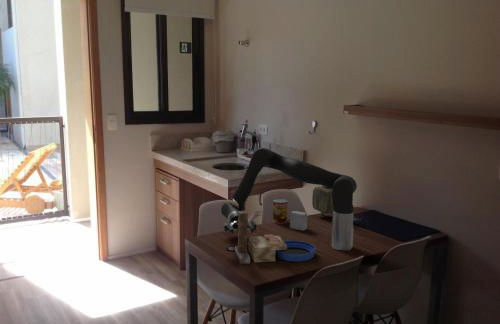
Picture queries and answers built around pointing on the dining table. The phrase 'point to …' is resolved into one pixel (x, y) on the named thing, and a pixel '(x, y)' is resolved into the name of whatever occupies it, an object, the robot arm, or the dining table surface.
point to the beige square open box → (264, 249)
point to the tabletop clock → (322, 199)
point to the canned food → (280, 211)
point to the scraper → (242, 238)
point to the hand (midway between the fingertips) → (242, 231)
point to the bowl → (296, 251)
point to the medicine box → (298, 220)
